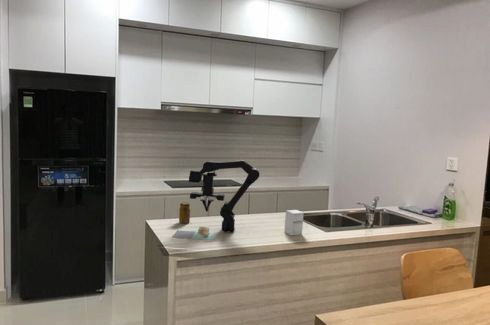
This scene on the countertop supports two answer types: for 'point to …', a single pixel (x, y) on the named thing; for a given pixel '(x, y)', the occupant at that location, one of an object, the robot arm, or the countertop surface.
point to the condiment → (184, 213)
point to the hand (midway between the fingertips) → (206, 211)
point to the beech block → (203, 232)
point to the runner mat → (190, 235)
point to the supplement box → (293, 222)
